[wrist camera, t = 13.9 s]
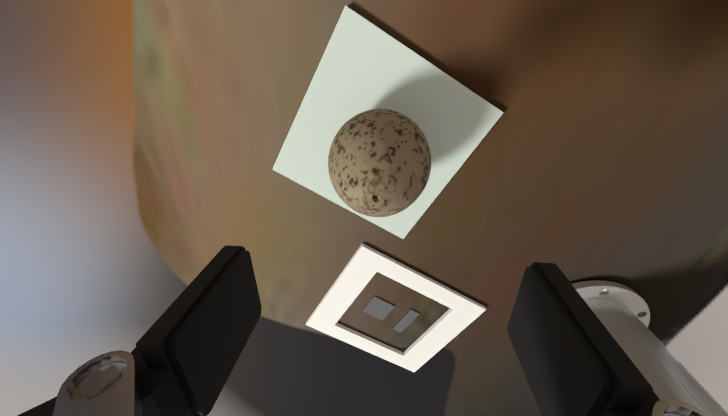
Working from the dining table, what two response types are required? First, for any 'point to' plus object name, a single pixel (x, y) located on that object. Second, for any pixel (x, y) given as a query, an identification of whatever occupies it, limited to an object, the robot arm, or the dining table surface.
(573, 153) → the dining table surface
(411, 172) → the decorative egg
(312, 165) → the sage mat
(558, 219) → the dining table surface
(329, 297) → the white square frame
